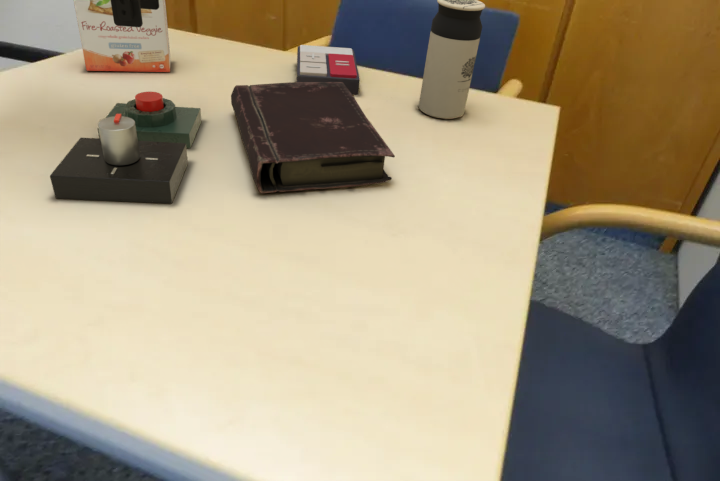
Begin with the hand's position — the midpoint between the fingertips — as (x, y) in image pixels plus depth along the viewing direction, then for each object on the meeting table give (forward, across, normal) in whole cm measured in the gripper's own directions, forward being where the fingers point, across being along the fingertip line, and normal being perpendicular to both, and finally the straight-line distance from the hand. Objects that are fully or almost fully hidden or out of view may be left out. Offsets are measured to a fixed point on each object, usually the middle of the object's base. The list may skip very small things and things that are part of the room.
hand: (138, 16), depth 70 cm
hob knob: (+13, +14, 0) cm, 19 cm away
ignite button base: (+16, 0, 0) cm, 16 cm away
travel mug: (+16, -15, +45) cm, 50 cm away
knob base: (+16, +14, 0) cm, 21 cm away
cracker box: (+16, -26, -10) cm, 32 cm away
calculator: (+16, -27, +25) cm, 40 cm away
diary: (+16, +2, +22) cm, 27 cm away
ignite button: (+12, 0, 0) cm, 12 cm away
